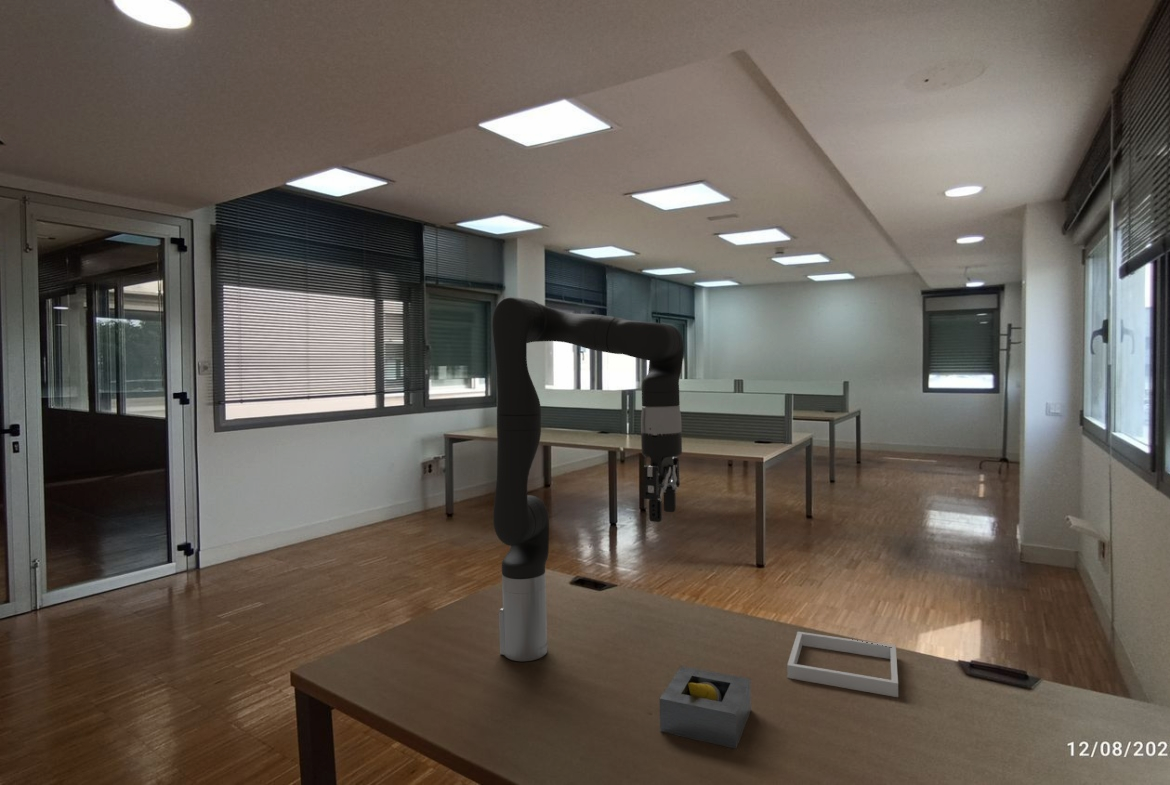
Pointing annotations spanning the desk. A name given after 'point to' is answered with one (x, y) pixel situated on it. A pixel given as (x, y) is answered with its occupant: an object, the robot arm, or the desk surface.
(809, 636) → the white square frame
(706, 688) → the drill bit
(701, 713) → the bit holder
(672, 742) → the desk surface
